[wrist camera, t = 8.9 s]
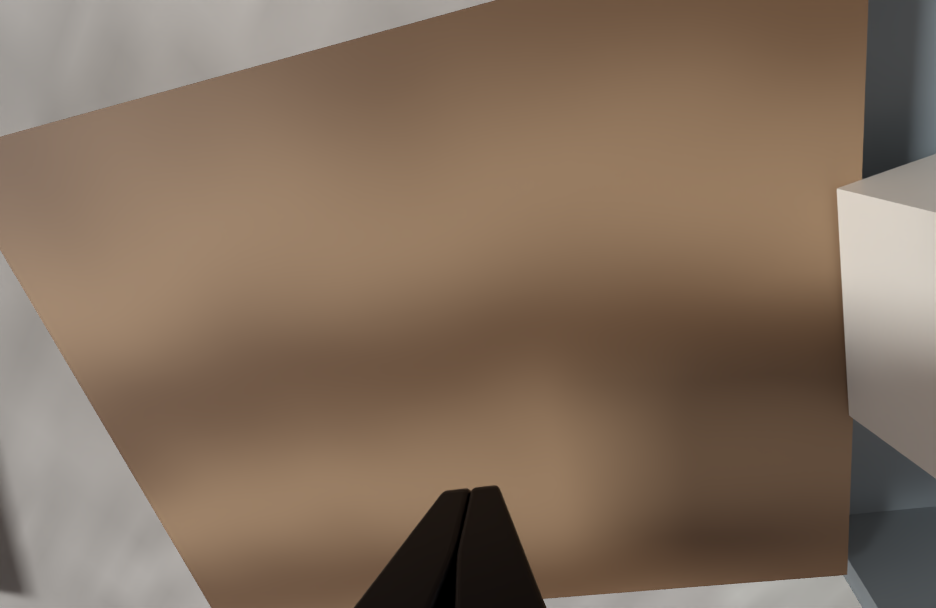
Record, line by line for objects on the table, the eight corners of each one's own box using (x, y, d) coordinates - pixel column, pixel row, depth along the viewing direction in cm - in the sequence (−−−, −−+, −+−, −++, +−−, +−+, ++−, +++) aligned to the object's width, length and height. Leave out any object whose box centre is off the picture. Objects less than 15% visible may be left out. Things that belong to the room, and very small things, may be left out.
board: (801, 499, 16) (847, 574, 14) (257, 555, 19) (221, 623, 17) (798, -72, 11) (872, -104, 8) (39, 134, 14) (-58, 152, 11)
